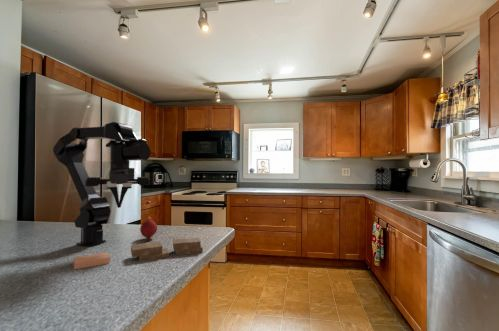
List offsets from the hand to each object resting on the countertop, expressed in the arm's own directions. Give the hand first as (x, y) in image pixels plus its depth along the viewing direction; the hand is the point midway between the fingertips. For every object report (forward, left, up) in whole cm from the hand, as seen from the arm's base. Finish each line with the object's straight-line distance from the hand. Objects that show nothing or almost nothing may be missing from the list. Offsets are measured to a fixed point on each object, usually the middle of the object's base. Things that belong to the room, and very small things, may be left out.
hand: (119, 207), depth 85 cm
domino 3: (+21, +1, -10) cm, 23 cm away
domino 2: (+14, -6, -13) cm, 20 cm away
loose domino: (+3, -17, -12) cm, 22 cm away
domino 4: (+21, +1, -12) cm, 25 cm away
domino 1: (+13, -8, -11) cm, 19 cm away
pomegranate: (+2, +12, -13) cm, 18 cm away
